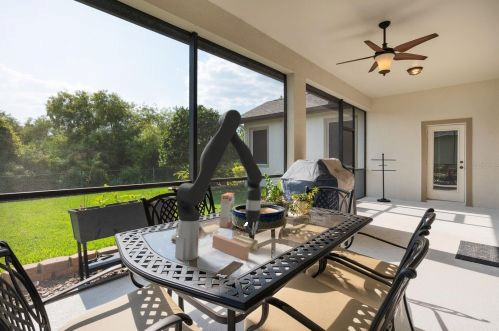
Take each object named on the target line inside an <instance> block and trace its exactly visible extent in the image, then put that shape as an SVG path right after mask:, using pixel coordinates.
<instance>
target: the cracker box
mask: <svg viewBox="0 0 499 331" xmlns="http://www.w3.org/2000/svg"><path fill="white" fill-rule="evenodd" d="M235 196H236V193H235V192H226V193H223V194H221V198H220V208H219V209H220V213H219V225H218V226H219V228H226V229H228V228H229V227H230V226H231V225H232V224H233V223H232V215H231V210H232V208H233V207H234V208H235Z"/></svg>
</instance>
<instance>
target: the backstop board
mask: <svg viewBox="0 0 499 331" xmlns="http://www.w3.org/2000/svg"><path fill="white" fill-rule="evenodd" d="M211 244H212V245H211V246H212V249H213V248H214V249H216V250H218V251H220V252H224V253H225V254H228V255H231V256H233V257H235V258H238V259H240V260H241V261H242V260H243V261H246V260H249V256H250V255H249V254H250V253H249V245H246V244H243V243H240V242H237V241H235V240H233V238H232V239H231V238H229V237H225V236H224V235H220V234H213V235H212V243H211Z"/></svg>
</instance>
